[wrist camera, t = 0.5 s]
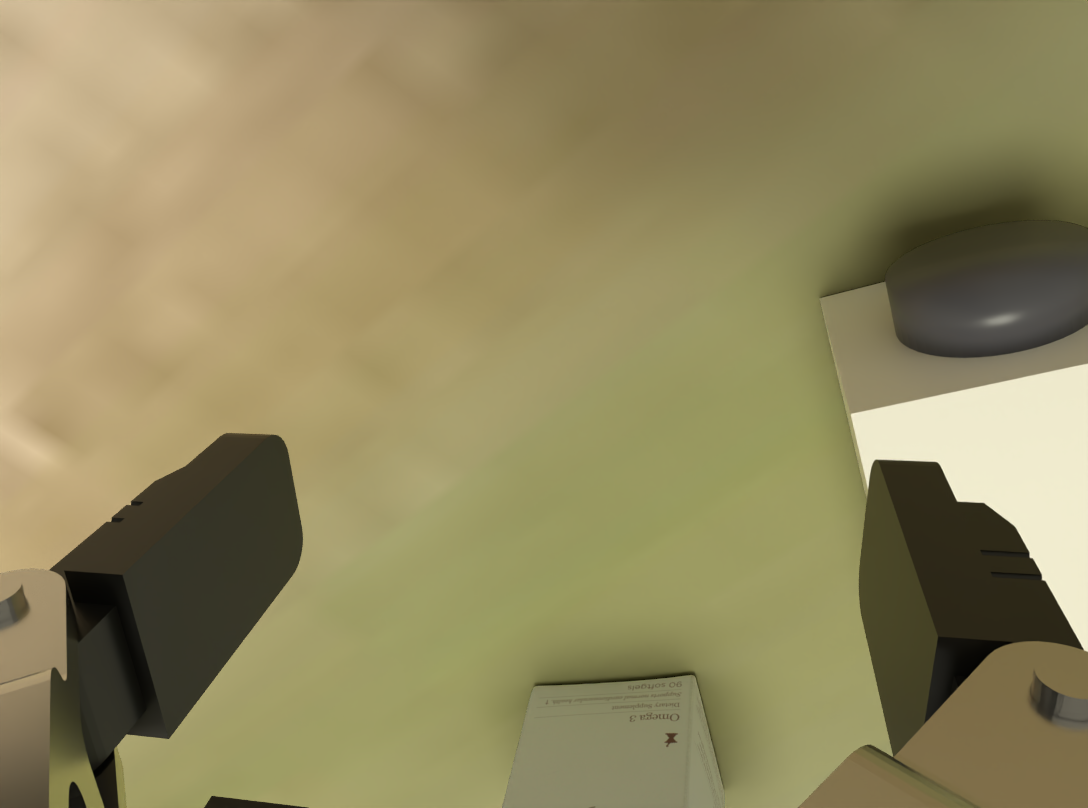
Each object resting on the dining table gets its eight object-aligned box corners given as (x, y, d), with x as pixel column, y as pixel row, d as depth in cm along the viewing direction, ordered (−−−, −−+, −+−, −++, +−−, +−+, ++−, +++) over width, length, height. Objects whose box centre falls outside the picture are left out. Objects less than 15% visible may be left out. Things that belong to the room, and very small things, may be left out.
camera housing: (808, 252, 28) (841, 370, 21) (1143, 162, 25) (1327, 259, 18) (923, 740, 37) (977, 954, 29) (1185, 713, 34) (1322, 942, 26)
